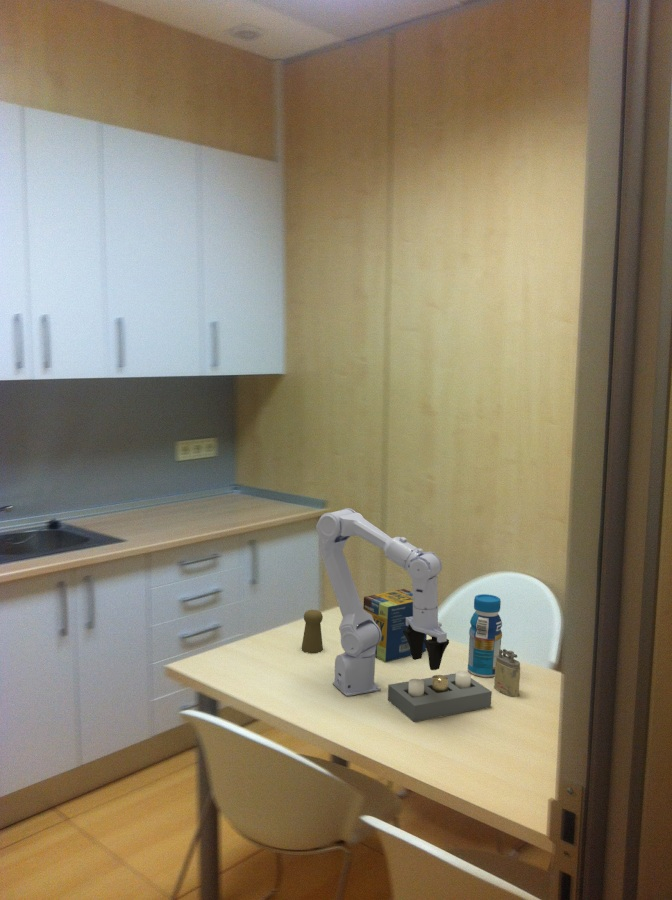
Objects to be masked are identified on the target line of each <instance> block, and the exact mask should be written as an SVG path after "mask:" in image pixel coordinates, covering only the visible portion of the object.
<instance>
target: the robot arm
mask: <svg viewBox="0 0 672 900" xmlns="http://www.w3.org/2000/svg"><path fill="white" fill-rule="evenodd" d="M315 529H316V531H317V534H318V549H319V554H320V556H321V559H322V562H323V565H324V568H325V571H326V573H327V577H328V579H329V582H330V585H331V588H332V590H333V594H334V596H335V600H336V601H337V605H338V608H339V611H340V613H341V616H342V619H341V622H340V625H339V628H338V629H339V633H340V644H341V648H342V650H343V653H340V654H338V655H336V656H335V660H334V681H333V682H332V685H334V686H335V687H336V688H337V689H338V690H339V691H340V692H341V693H342V694H343V695H345V696H347V697H348V696H349V697H350V696H355V695H362V694H369V693H373V692H379V691H381V689H382V688H381V687H380V686H379V685H377V684H376V683H375V673H376V672H375V670H376V667H375V666H376V657H375V650H376V645H377V644H378V643H379V642H380V640H381V630H380V628H379V626H378V625H377V624H376V623H375V622H374V620H373V617H372V615H371V614H369V613H368V612H366V611H365V610H364V609H363V606H364V605H363V603H362V601H361V598H360V596H359V593H358V590H357V587H356V584H355V582H354V578H353V575H352V573H351V570H350V567H349V565H348V562H347V559H346V556H345V553H344V548H345V545H346V543H347V542H348V539H349V538H351V537H352V536H357V537H359V538H361V539H363V540H365V541H366V542H368V543H369V544H373V545H374V546H376V547H377V548H379V549H381V550H382V551H383V552H384V555H385V557H386V558H387V559H388V560H389V561H391V562H393V563H394V564H396V565H397V566H399V567H401V568H402V569H404V570H405V571H407V574H408V576H409V577H410V579H411V586H412V592H413V616H412V617H406V626H409V627H408V629H404V630H403V633H404V635H405V636H406V638H407V641H408V643H409V647H410V651H411V658H412V660H414V661H415V660H420V659H422V658H423V653H424V652H423V641H424V643H425V646H426V652H427V655H428V656H427V657H428V664H429V665H428V666H429V669H430V670H431V671H436V670H439V669H440V667H441V664H442V660H443V656H444V653H445V651H446V649H447V647H448V645H449V644H450V639H448V638H447V636H448V635H447V632H446V631H444V630H443V629H442V622H440V621H439V608H438V607H439V604H438V601H439V599H438V597H439V595H438V594H439V590H438V589H439V588H438V587H439V586H438V585H439V584H438V583H439V582H438V575H439V574H441V571H442V570H443V569H442V568H443V564H442V561H441V558H440V557H439V556H438V555H437V554H435V552H434V551H426V552H425V551H424V549H423V548H421V547H420V548H418V547H417V546H415V545H413V544H411V543H410V542H409V541H408V538H406V537H405V536H402V537H400V536H395V537H391V536H390V535H388V534H386V533H385V532H384V531H382V530H381V529H380V528H378V527H376V526H375V525H374V524H372V523H371V522H370V521H368V520H367V519H365V518H364V516H363V515H362V514H361V513H359V512H357V511H355V510H354V509H352V508H348V507H345V508H343V509H340V510H337V511H332V512H325V513H323V514H322V515H321V516H320V517H319V519H318V521H317V523H316V526H315ZM425 634H427V636H429V637H430V638H429V639H426V640H424V637H425Z"/></svg>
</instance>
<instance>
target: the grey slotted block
mask: <svg viewBox="0 0 672 900" xmlns="http://www.w3.org/2000/svg"><path fill="white" fill-rule="evenodd" d="M444 676H446V677H448V689H447V692H441V693H436V692H435V691H433V690H432V680H433V676H432V677H426V678H419V679H420V680H423V681H424V696H419V697H414V698H413V697H411V696H410V695H409V694H408V688H409V680H408V681H401V682H398V683H396V682H395V683H391V684H388V688H387V701H388V702H389V703H391V704H392V705H393V706H395V708H396V709H398V710H399V711H400V712H401V713H403V714H404V715H405V716H406V717H407V718H408V719H409V720H410V721H412V722H413V723H417V722H420V721H421V722H422V721H425V720H431V719H432V720H433V719H436V718H443V717H447V716H452V715H457V714H462V713H467V712H472V711H477V710H483V709H486V708H492V694H493V693H492V692H493V691H492V690H490V689H488V688H487V687H486V686H485V685H482V684H481V683H480V682H478V681H476V680H475V679H474V678H472V677H471V683H470V687H469V688H464V689H460V688H458V687H457V686H455V677H456V672H455V673H450V674H449V673H448V674H444Z"/></svg>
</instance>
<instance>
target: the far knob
mask: <svg viewBox="0 0 672 900" xmlns="http://www.w3.org/2000/svg"><path fill="white" fill-rule="evenodd" d="M455 673H456V677H455V686H457V687H458V688H460V689H464V688H469V687H470V683H471V678H472V673H470V672H469V671H466V670H465V671H464V670H460V671H459V670H458V671H456V672H455Z"/></svg>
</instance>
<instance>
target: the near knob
mask: <svg viewBox="0 0 672 900" xmlns="http://www.w3.org/2000/svg"><path fill="white" fill-rule="evenodd" d="M420 679H421V678H411V679H409V680H408V681H409V688H408V694H409V695H410V696H411V697H413V698H414V697H419V696H425V695H424V681H423V680H420Z"/></svg>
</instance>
